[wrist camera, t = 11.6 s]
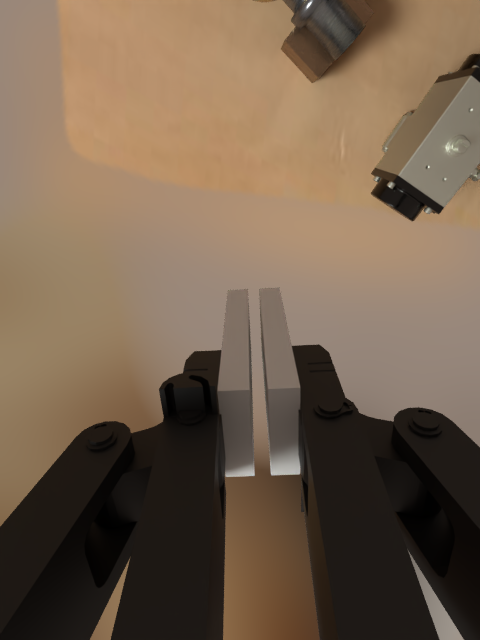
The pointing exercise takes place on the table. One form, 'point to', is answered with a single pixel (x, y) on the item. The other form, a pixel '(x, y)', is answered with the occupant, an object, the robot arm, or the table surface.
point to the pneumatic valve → (433, 146)
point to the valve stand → (322, 32)
